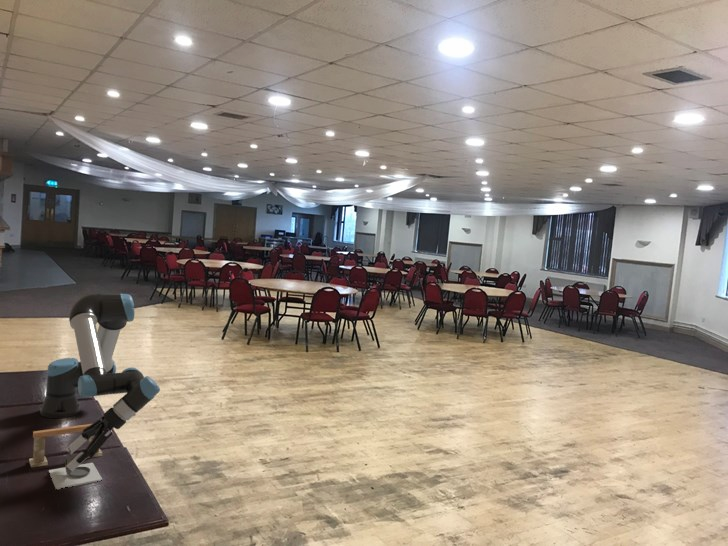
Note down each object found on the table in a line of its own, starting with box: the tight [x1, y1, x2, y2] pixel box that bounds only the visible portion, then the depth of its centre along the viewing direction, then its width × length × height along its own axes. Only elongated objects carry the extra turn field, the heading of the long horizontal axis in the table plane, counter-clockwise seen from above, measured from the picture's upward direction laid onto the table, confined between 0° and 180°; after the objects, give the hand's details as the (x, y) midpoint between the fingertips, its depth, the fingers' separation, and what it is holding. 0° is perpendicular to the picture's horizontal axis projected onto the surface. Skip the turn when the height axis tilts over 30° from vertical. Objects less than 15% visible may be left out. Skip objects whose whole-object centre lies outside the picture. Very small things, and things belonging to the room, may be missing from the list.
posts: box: [28, 435, 103, 469], centre depth 200 cm, size 23×5×10 cm, turn 129°
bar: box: [32, 423, 92, 439], centre depth 200 cm, size 22×2×2 cm, turn 129°
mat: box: [48, 462, 103, 490], centre depth 189 cm, size 14×14×1 cm
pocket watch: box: [64, 446, 90, 477], centre depth 189 cm, size 8×8×10 cm
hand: (68, 459), depth 187 cm, fingers open, 13 cm apart
